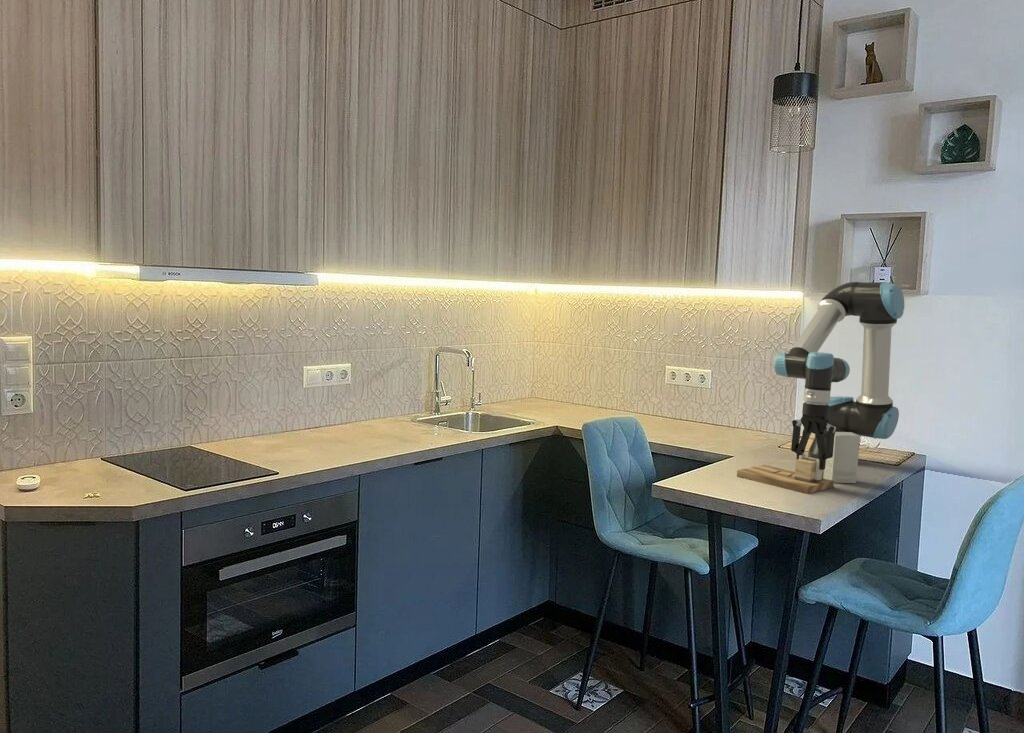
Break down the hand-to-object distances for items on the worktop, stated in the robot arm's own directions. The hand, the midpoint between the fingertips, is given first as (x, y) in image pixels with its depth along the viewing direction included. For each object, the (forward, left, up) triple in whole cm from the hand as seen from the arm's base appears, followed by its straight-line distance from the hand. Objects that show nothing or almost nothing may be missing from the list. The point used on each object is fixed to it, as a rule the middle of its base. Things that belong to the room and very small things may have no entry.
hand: (809, 477), depth 243 cm
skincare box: (-16, +2, -3) cm, 16 cm away
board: (+2, -7, -3) cm, 8 cm away
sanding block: (0, 0, 0) cm, 1 cm away
